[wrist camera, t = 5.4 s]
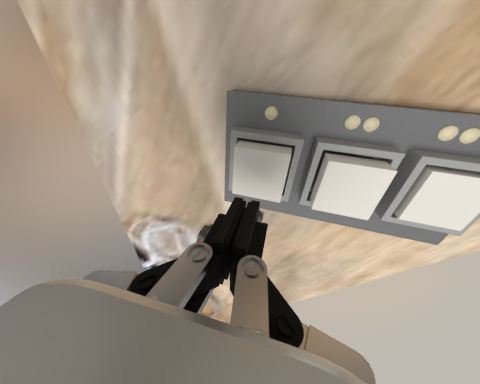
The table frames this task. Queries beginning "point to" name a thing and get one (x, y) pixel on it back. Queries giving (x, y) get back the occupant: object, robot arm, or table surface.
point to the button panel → (352, 150)
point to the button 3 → (442, 198)
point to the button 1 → (260, 170)
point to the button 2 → (350, 185)
